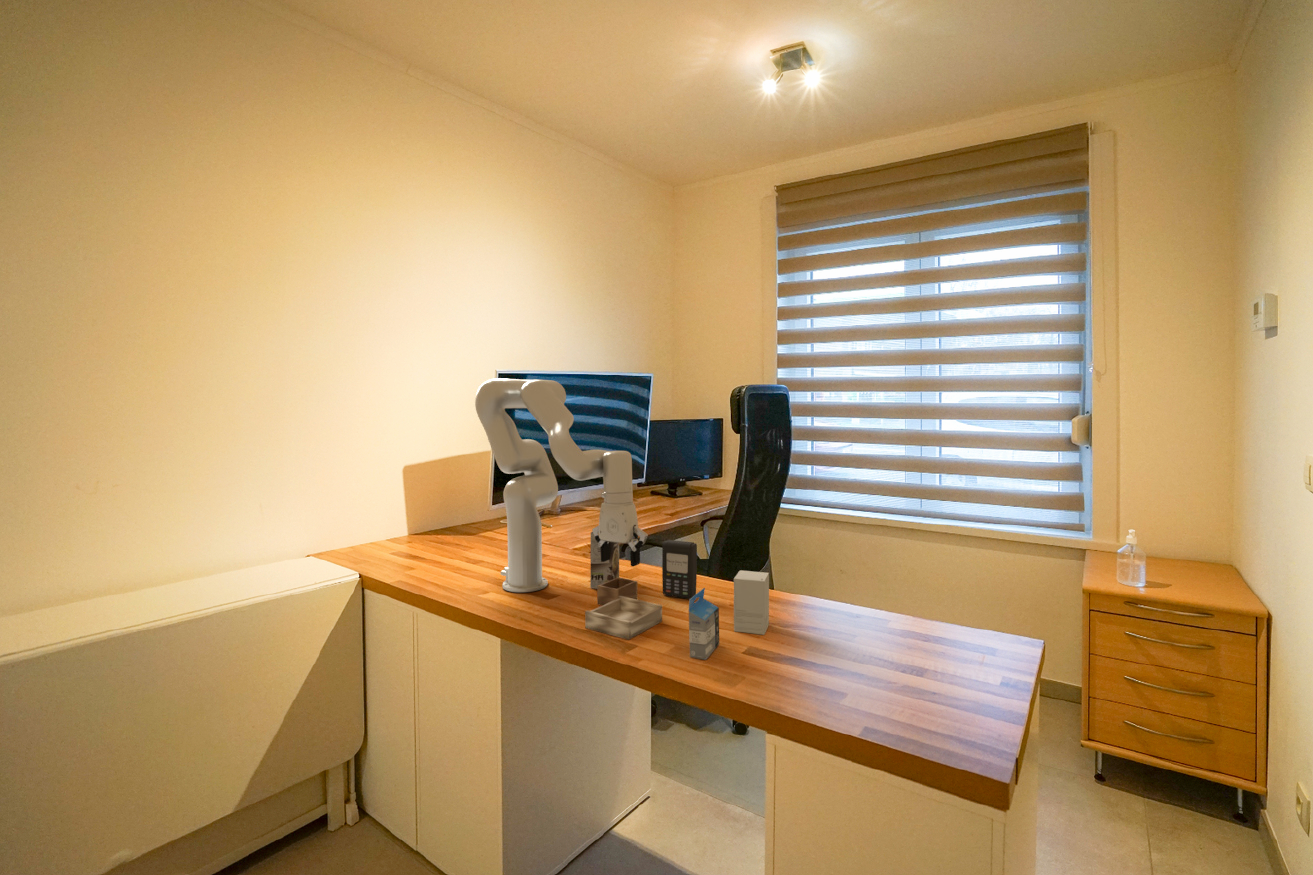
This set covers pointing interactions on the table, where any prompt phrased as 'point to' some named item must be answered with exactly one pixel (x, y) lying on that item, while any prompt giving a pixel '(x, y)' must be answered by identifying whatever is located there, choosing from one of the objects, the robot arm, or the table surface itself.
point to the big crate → (624, 617)
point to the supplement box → (751, 602)
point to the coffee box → (603, 564)
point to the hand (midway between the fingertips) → (620, 562)
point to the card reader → (679, 568)
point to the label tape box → (703, 626)
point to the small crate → (616, 590)
